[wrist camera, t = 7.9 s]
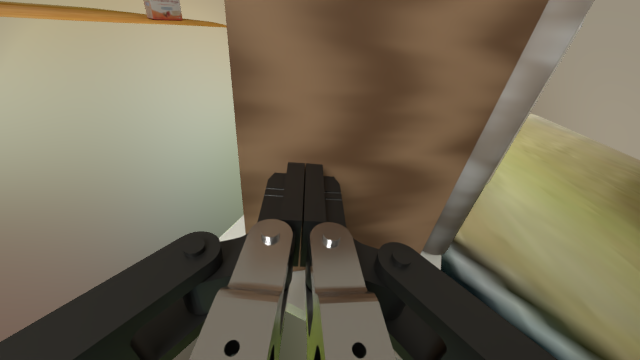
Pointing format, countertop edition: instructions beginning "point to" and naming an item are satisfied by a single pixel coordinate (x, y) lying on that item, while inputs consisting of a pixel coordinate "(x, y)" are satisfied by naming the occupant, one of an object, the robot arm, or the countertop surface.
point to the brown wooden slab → (390, 101)
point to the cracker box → (163, 9)
